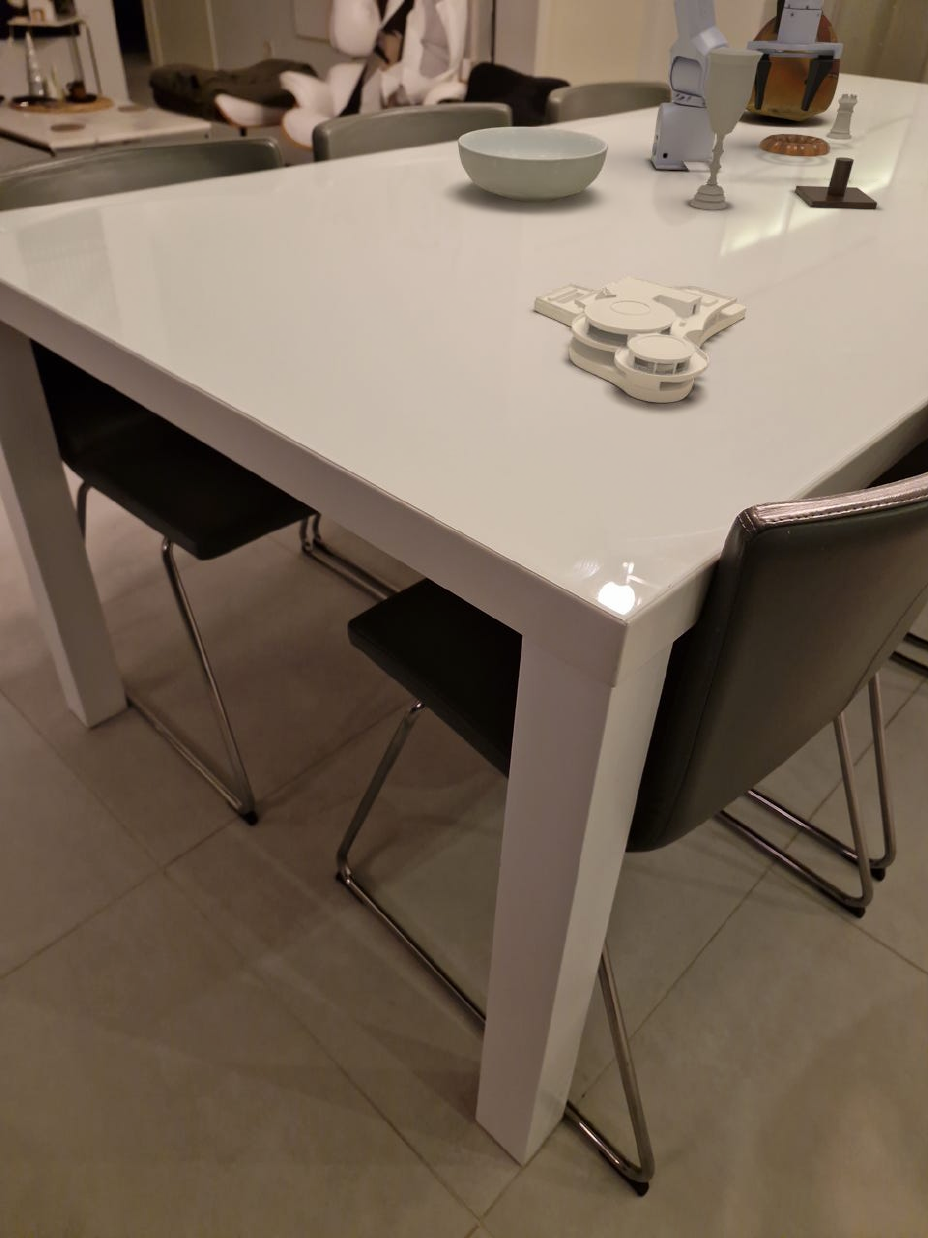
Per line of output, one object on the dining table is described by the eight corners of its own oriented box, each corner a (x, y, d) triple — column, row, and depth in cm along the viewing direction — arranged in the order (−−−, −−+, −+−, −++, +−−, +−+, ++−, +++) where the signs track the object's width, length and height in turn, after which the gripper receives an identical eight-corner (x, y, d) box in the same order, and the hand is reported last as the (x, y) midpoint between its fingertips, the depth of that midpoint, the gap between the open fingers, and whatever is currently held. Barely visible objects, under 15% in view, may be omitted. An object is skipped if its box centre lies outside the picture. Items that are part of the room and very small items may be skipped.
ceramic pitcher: (838, 117, 179) (885, -67, 160) (813, 132, 165) (861, -67, 146) (746, 107, 186) (780, -70, 168) (715, 120, 173) (748, -70, 154)
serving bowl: (431, 199, 120) (430, 144, 116) (496, 171, 134) (498, 121, 130) (569, 221, 113) (574, 163, 108) (623, 188, 127) (629, 136, 123)
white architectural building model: (805, 332, 83) (818, 285, 80) (669, 416, 68) (679, 361, 65) (609, 279, 94) (615, 236, 92) (457, 340, 80) (457, 291, 77)
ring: (766, 164, 142) (770, 144, 140) (751, 150, 150) (755, 131, 148) (834, 166, 141) (840, 146, 139) (815, 152, 150) (820, 133, 148)
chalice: (734, 213, 117) (765, 56, 106) (683, 209, 118) (709, 53, 107) (732, 199, 123) (761, 49, 111) (683, 196, 124) (708, 47, 112)
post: (811, 206, 121) (821, 165, 117) (794, 191, 128) (804, 151, 124) (875, 208, 120) (888, 166, 117) (855, 193, 127) (866, 153, 124)
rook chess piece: (845, 144, 156) (859, 93, 151) (852, 149, 153) (866, 97, 148) (820, 143, 157) (833, 92, 152) (826, 148, 153) (839, 96, 148)
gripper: (761, 9, 130) (741, 112, 138) (858, 11, 129) (832, 114, 138) (751, 5, 135) (732, 105, 144) (844, 7, 135) (820, 107, 143)
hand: (780, 109), depth 141 cm, fingers open, 7 cm apart
